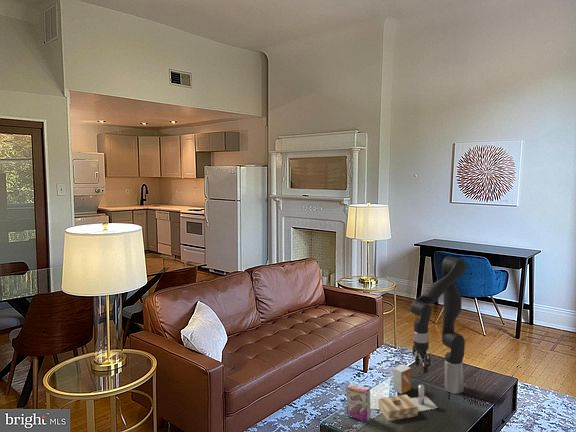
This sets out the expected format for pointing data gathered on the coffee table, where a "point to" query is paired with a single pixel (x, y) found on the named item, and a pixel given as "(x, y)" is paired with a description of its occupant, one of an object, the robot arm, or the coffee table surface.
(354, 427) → the coffee table surface
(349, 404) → the candy bar box
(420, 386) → the peg
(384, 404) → the hole block
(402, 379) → the small box
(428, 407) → the mat
